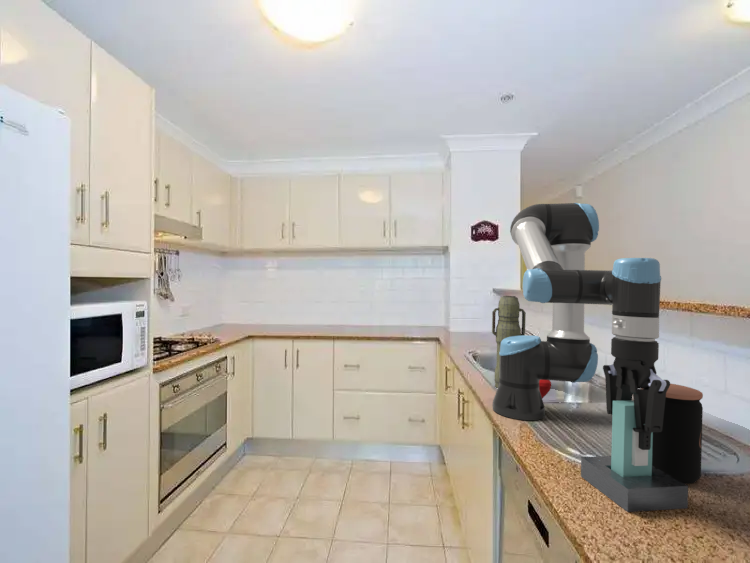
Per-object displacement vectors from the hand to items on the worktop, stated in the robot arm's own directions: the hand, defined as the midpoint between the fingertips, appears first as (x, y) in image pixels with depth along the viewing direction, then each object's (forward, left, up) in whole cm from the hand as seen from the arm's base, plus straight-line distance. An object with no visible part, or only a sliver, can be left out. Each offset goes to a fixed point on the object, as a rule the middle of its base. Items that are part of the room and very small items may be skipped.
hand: (631, 459), depth 72 cm
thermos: (-69, +10, -6) cm, 70 cm away
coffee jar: (-6, +15, -6) cm, 17 cm away
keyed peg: (0, 0, -3) cm, 3 cm away
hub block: (0, 0, -6) cm, 6 cm away
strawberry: (-56, +16, -6) cm, 59 cm away
